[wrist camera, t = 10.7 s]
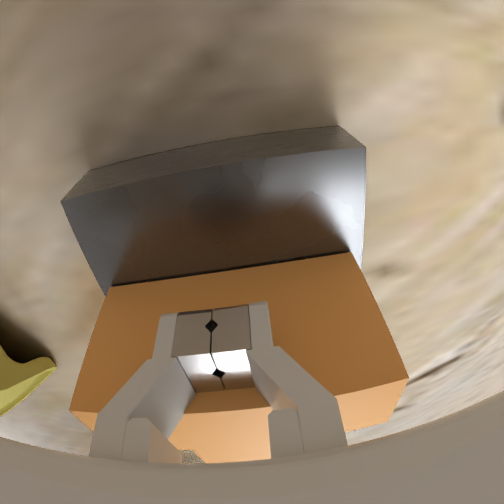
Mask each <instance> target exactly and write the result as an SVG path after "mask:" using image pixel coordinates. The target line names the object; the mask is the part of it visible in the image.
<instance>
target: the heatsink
mask: <svg viewBox="0 0 504 504" xmlns="http://www.w3.org/2000/svg"><path fill="white" fill-rule="evenodd" d="M365 189H366V147H365V146H364V145H363V144H361V143H360V142H359V141H358V140H357V139H355V138H354V137H353V136H352V135H350V134H349V133H348V132H347V131H345V130H344V129H343V128H341V127H340V126H332V127H320V128H310V129H300V130H291V131H283V132H275V133H267V134H260V135H253V136H246V137H240V138H233V139H227V140H221V141H216V142H210V143H205V144H199V145H194V146H189V147H184V148H179V149H175V150H170V151H165V152H161V153H156V154H152V155H148V156H143V157H139V158H135V159H131V160H127V161H123V162H119V163H116V164H112V165H108V166H104V167H101V168H97V169H94V170H90V171H88V172H87V173H86V174H85V175H84V176H83V178H82V179H81V180H80V181H79V182H78V183H77V184H76V185H75V186H74V187H73V188H72V189H71V190H70V191H69V192H68V194H67V195H66V196H65V197H64V198H63V199H62V200H61V204H62V206H63V209H64V211H65V213H66V216H67V218H68V220H69V223H70V225H71V227H72V229H73V232H74V234H75V236H76V238H77V240H78V243H79V245H80V247H81V249H82V251H83V253H84V255H85V257H86V259H87V261H88V264H89V266H90V268H91V270H92V272H93V273H94V275H95V277H96V279H97V281H98V283H99V285H100V287H101V289H102V291H103V293H104V295H105V296H106V295H107V293H108V290H109V287H115V286H123V285H130V284H137V283H145V282H152V281H159V280H167V279H174V278H181V277H188V276H195V275H202V274H209V273H216V272H223V271H230V270H237V269H244V268H251V267H257V266H264V265H271V264H277V263H284V262H291V261H297V260H304V259H310V258H317V257H323V256H329V255H336V254H342V253H348V252H352V254H353V256H354V258H355V260H356V262H357V264H358V266H359V268H360V270H361V263H362V250H363V235H364V217H365Z"/></svg>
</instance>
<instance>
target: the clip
mask: <svg viewBox="0 0 504 504" xmlns="http://www.w3.org/2000/svg"><path fill="white" fill-rule="evenodd" d="M262 301H267V303H268V309H269V316H270V322H271V329H272V336H273V343H274V346H280V347H281V348H282V349H283V350H284V351H285V352H286V353H287V354H288V355H289V356H290V357H291V358H292V359H294V360H295V361H296V362H297V363H298V364H299V365H300V366H301V367H302V368H303V369H304V370H306V371H307V372H308V373H309V374H310V375H311V376H312V377H313V378H314V379H315V380H317V381H318V382H319V383H320V384H321V385H322V386H323V387H324V388H325V389H327V390H328V391H329V392H330V393H331V394H332V395H333V396H334V397H335V398H337V402H338V406H339V410H340V414H341V418H342V423H343V427H344V431H345V432H347V431H352V430H356V429H360V428H364V427H368V426H372V425H376V424H380V423H384V422H387V421H388V420H389V418H390V416H391V414H392V412H393V410H394V409H395V406H396V404H397V402H398V400H399V398H400V396H401V394H402V392H403V390H404V388H405V386H406V383H407V381H408V379H409V377H408V374H407V372H406V369H405V367H404V364H403V362H402V359H401V357H400V355H399V352H398V350H397V348H396V345H395V343H394V341H393V338H392V336H391V334H390V331H389V329H388V327H387V325H386V322H385V320H384V318H383V316H382V314H381V311H380V309H379V307H378V305H377V303H376V301H375V299H374V296H373V294H372V292H371V290H370V288H369V286H368V284H367V282H366V280H365V278H364V276H363V274H362V272H361V270H360V268H359V266H358V264H357V262H356V260H355V258H354V256H353V254H352V252H348V253H342V254H336V255H329V256H323V257H317V258H310V259H304V260H297V261H291V262H284V263H277V264H271V265H264V266H257V267H251V268H244V269H237V270H230V271H223V272H216V273H209V274H202V275H195V276H188V277H181V278H174V279H167V280H159V281H152V282H145V283H137V284H130V285H123V286H115V287H109V290H108V293H107V295H106V298H105V300H104V303H103V306H102V308H101V311H100V314H99V317H98V319H97V322H96V325H95V328H94V331H93V334H92V336H91V339H90V342H89V345H88V348H87V351H86V355H85V358H84V361H83V364H82V367H81V370H80V374H79V377H78V380H77V384H76V387H75V391H74V394H73V398H72V402H71V405H70V409H69V411H70V412H71V413H72V414H73V415H75V416H76V417H77V418H78V419H79V420H80V421H81V422H82V423H84V424H85V425H86V426H87V427H88V428H90V429H91V430H92V431H93V432H94V428H95V423H96V418H97V415H98V413H99V412H100V411H101V410H102V409H103V408H104V407H105V406H106V405H107V403H108V402H109V401H110V400H111V399H112V398H113V397H114V396H115V395H116V393H117V392H118V391H119V390H120V389H121V388H122V387H123V386H124V385H125V384H126V382H127V381H128V380H129V379H130V378H131V377H132V376H133V375H134V374H135V373H136V371H137V370H138V369H139V368H140V367H141V366H142V365H143V364H144V363H145V361H146V360H147V359H152V357H153V352H154V346H155V341H156V335H157V330H158V325H159V320H160V317H161V316H162V314H167V313H179V312H186V311H197V310H207V309H213V310H214V308H222V307H229V306H236V305H243V304H249V303H255V302H262ZM272 410H273V409H272V408H271V406H270V405H269V404H268V403H267V401H266V400H265V399H264V398H263V397H262V395H261V394H260V393H259V392H258V391H257V389H256V388H245V389H234V390H226V388H225V390H222V391H213V392H202V393H196V396H195V397H194V399H193V400H192V402H191V403H190V405H189V406H188V408H187V409H186V411H185V412H184V415H183V417H182V419H181V420H180V422H179V423H178V425H177V426H176V428H175V429H174V431H173V433H172V434H171V436H170V437H169V439H168V440H169V441H170V442H171V443H172V444H173V445H174V446H175V447H176V448H177V449H178V450H193V451H194V452H195V453H196V454H197V455H198V456H199V457H200V458H201V459H202V460H203V461H204V463H223V462H240V461H252V460H263V459H271V451H270V438H269V426H268V415H269V414H270V413H271V411H272Z"/></svg>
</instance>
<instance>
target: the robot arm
mask: <svg viewBox="0 0 504 504" xmlns="http://www.w3.org/2000/svg"><path fill="white" fill-rule="evenodd" d="M225 388H226V390H234V389H245V388H256V389H257V391H258V392H259V393H260V394H261V395H262V397H263V398H264V399H265V400H266V401H267V403H268V404H269V405H270V406H271V408H272V409H273V410H272V411H271V413H270V414H269V415H268V426H269V438H270V451H271V459H263V460H252V461H240V462H223V463H183V454H182V453H181V452H180V451H179V450H178V449H177V448H176V447H175V446H174V445H173V444H172V443H171V442H170V441H169V440H168V439H169V437H170V436H171V434H172V433H173V431H174V429H175V428H176V426H177V425H178V423H179V422H180V420H181V419H182V417H183V415H184V412H185V411H186V409H187V408H188V406H189V405H190V403H191V402H192V400H193V399H194V397H195V396H196V393H202V392H213V391H222V390H225ZM0 504H504V391H502V392H500V393H498V394H496V395H494V396H491V397H489V398H487V399H485V400H483V401H481V402H478V403H476V404H474V405H472V406H469V407H467V408H465V409H462V410H460V411H457V412H455V413H452V414H450V415H447V416H445V417H442V418H439V419H437V420H434V421H431V422H428V423H426V424H423V425H420V426H417V427H414V428H411V429H408V430H404V431H401V432H398V433H395V434H391V435H388V436H384V437H381V438H377V439H373V440H369V441H365V442H361V443H357V444H353V445H348V444H347V440H346V436H345V431H344V427H343V423H342V418H341V414H340V410H339V406H338V402H337V398H335V397H334V396H333V395H332V394H331V393H330V392H329V391H328V390H327V389H325V388H324V387H323V386H322V385H321V384H320V383H319V382H318V381H317V380H315V379H314V378H313V377H312V376H311V375H310V374H309V373H308V372H307V371H306V370H304V369H303V368H302V367H301V366H300V365H299V364H298V363H297V362H296V361H295V360H294V359H292V358H291V357H290V356H289V355H288V354H287V353H286V352H285V351H284V350H283V349H282V348H281V347H280V346H274V343H273V336H272V329H271V322H270V316H269V309H268V303H267V301H262V302H255V303H249V304H243V305H236V306H229V307H222V308H214V310H213V309H207V310H197V311H186V312H179V313H167V314H162V316H161V317H160V320H159V325H158V330H157V335H156V341H155V346H154V352H153V357H152V359H147V360H146V361H145V363H144V364H143V365H142V366H141V367H140V368H139V369H138V370H137V371H136V373H135V374H134V375H133V376H132V377H131V378H130V379H129V380H128V381H127V382H126V384H125V385H124V386H123V387H122V388H121V389H120V390H119V391H118V392H117V393H116V395H115V396H114V397H113V398H112V399H111V400H110V401H109V402H108V403H107V405H106V406H105V407H104V408H103V409H102V410H101V411H100V412H99V413H98V415H97V418H96V423H95V428H94V433H93V438H92V443H91V449H90V454H89V456H83V455H77V454H71V453H66V452H60V451H55V450H50V449H46V448H41V447H37V446H32V445H28V444H24V443H20V442H17V441H13V440H10V439H6V438H3V437H0Z"/></svg>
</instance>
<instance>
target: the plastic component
mask: <svg viewBox="0 0 504 504" xmlns="http://www.w3.org/2000/svg"><path fill="white" fill-rule="evenodd" d="M56 369H57V366H56V365H55V364H54V362H53V361H52V360H51V359H50V358H48V357H39V358H36V359H34V360H31V361H29V362H27V363H22V364H21V363H17V362H15V361H13V360H11V359H10V358H9V357H8V356H7V354H6V353H5V351H4V350H3V348H2V347H1V345H0V417H1V416H2V415H4V414H5V413H7V412H8V411H9V410H11V409H12V408H13V407H15V406H16V405H17V404H19V403H20V402H21V401H23V400H24V399H25V398H26V397H27V396H28V395H30V394H31V393H32V392H33V391H34V390H35V389H36V388H37V387H38V386H39V385H40V384H41V383H42V382H43V381H44V380H45V379H47V378H48V377H49V376H50V375H51V374H52V373H53V372H54V371H55V370H56Z"/></svg>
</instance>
